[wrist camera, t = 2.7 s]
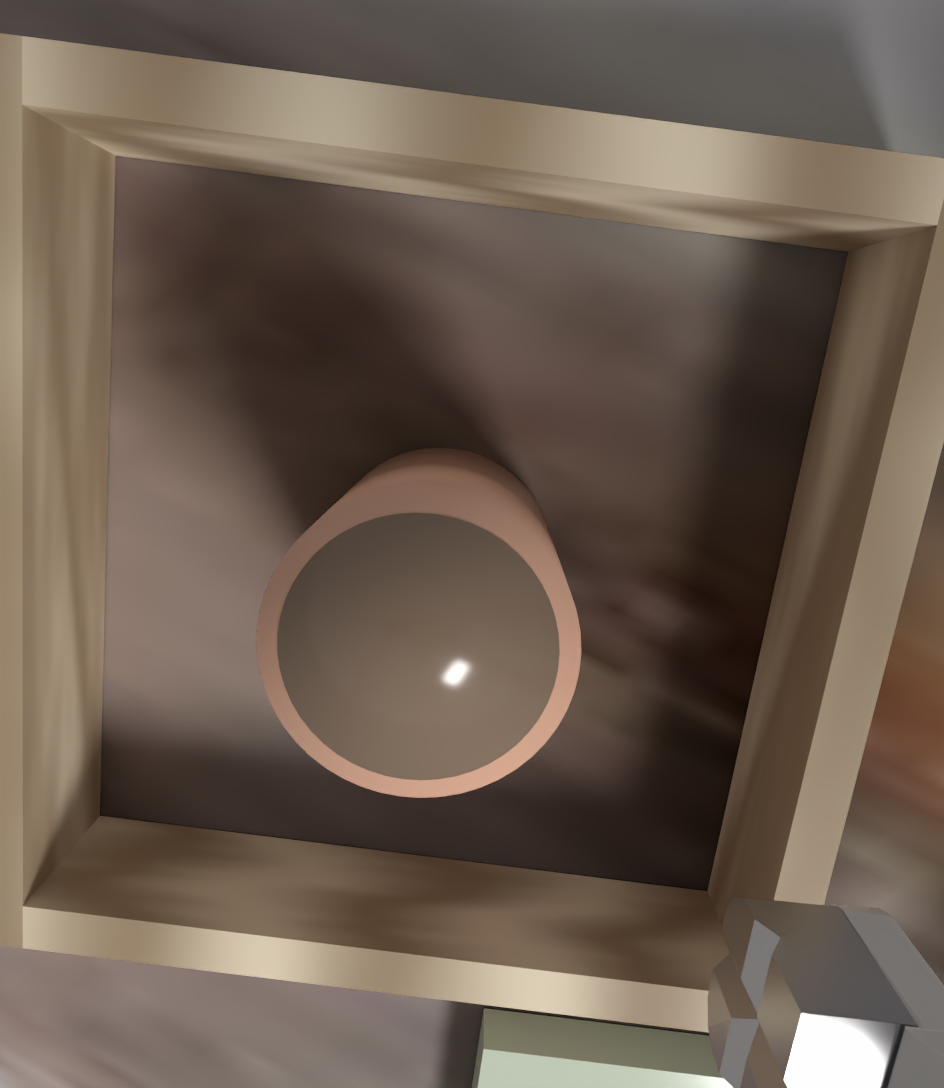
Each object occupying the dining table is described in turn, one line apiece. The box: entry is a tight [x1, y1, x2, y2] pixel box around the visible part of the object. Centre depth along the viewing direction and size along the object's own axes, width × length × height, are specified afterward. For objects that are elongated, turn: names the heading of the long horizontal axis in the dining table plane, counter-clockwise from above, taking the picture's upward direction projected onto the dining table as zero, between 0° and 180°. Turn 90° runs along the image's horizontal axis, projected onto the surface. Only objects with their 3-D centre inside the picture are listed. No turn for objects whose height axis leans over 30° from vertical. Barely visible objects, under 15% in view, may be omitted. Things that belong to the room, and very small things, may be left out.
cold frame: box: [0, 33, 944, 1032], centre depth 20 cm, size 20×20×4 cm
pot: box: [257, 447, 581, 798], centre depth 18 cm, size 6×6×7 cm
